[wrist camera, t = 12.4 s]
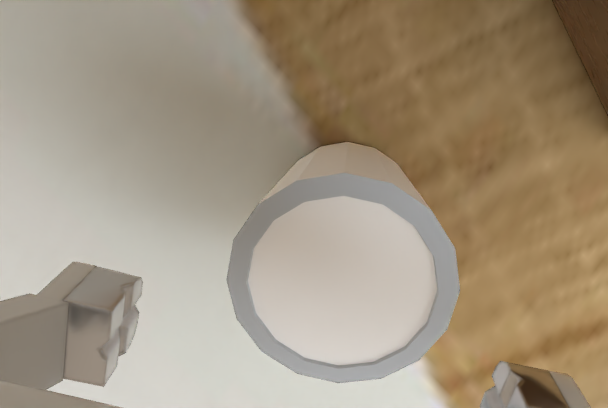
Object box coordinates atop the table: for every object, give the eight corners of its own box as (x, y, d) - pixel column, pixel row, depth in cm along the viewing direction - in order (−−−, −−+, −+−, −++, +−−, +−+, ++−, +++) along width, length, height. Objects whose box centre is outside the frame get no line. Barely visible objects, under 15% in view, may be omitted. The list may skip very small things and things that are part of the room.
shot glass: (300, 302, 24) (279, 409, 17) (237, 162, 22) (186, 222, 16) (451, 254, 23) (491, 350, 16) (397, 100, 21) (416, 137, 14)
